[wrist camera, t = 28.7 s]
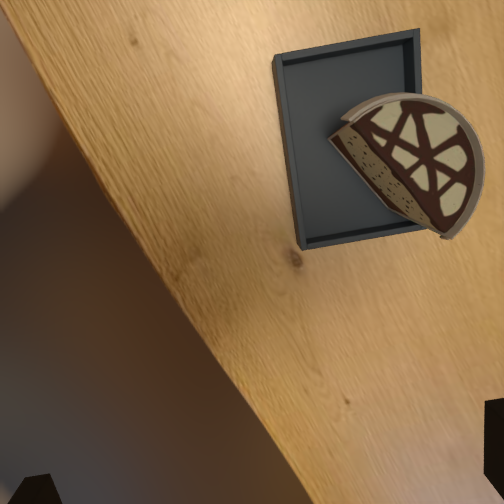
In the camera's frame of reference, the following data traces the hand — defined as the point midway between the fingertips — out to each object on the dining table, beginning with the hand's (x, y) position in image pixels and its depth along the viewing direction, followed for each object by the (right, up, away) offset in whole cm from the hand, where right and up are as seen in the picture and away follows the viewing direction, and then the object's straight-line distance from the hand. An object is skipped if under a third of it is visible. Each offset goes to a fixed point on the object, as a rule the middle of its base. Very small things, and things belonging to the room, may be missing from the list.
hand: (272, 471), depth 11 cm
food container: (+12, +16, +23) cm, 31 cm away
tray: (+9, +17, +23) cm, 30 cm away
